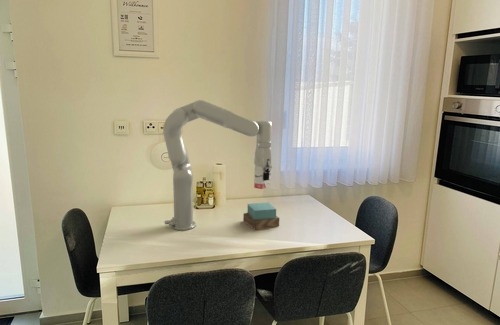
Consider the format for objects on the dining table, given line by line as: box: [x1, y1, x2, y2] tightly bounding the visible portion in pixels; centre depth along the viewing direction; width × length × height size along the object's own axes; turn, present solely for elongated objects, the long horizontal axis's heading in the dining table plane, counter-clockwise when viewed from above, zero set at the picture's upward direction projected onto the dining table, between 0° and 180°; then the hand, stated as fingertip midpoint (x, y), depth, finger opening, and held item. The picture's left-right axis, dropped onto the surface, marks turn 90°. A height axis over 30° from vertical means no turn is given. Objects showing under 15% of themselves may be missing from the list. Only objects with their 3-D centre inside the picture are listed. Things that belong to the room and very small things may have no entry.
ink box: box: [253, 165, 272, 190], centre depth 194 cm, size 9×5×12 cm, turn 142°
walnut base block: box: [242, 212, 280, 231], centre depth 198 cm, size 14×14×5 cm
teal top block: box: [246, 202, 277, 220], centre depth 197 cm, size 12×12×5 cm
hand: (262, 178), depth 194 cm, fingers closed on ink box, 6 cm apart
